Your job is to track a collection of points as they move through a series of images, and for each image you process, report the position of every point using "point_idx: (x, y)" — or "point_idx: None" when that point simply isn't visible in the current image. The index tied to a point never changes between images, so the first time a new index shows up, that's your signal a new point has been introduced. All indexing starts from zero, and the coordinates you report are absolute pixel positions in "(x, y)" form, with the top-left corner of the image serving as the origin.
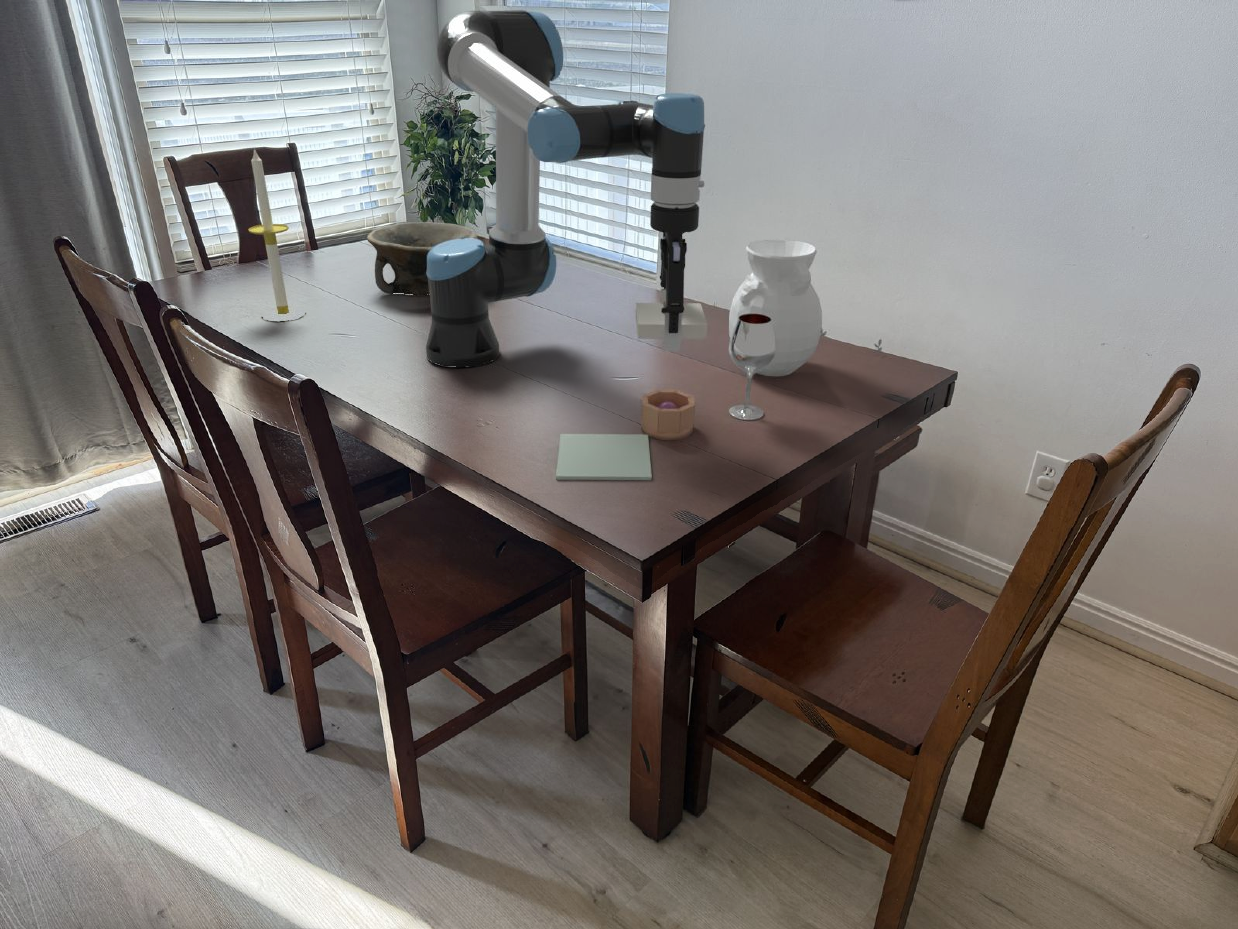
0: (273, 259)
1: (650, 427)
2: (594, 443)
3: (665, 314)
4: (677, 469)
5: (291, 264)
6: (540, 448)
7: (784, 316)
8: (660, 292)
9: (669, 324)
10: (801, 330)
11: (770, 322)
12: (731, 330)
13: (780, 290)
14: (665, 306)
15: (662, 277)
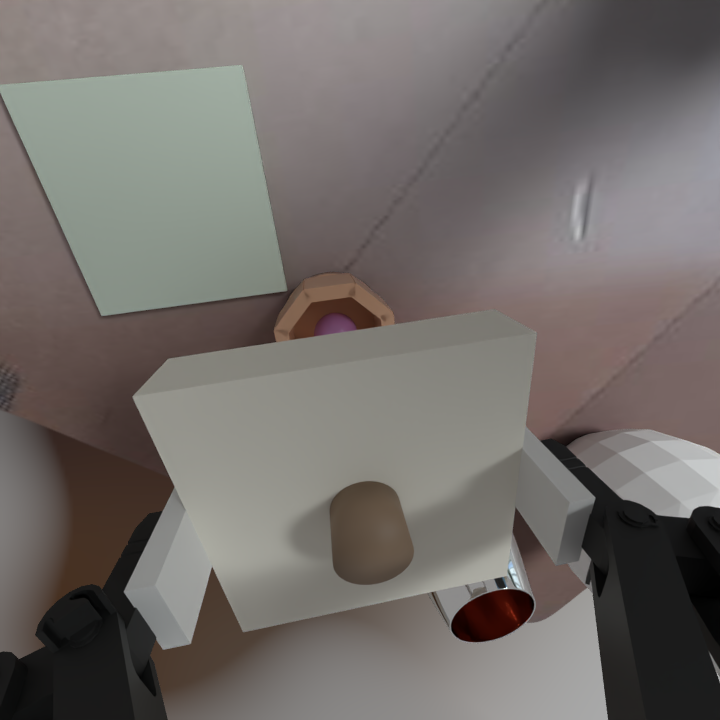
0: None
1: (289, 299)
2: (211, 172)
3: (131, 578)
4: (169, 354)
5: None
6: (160, 9)
7: None
8: (567, 485)
9: (128, 553)
10: (581, 578)
11: (468, 640)
12: (652, 454)
13: None
14: (343, 529)
15: (620, 599)
